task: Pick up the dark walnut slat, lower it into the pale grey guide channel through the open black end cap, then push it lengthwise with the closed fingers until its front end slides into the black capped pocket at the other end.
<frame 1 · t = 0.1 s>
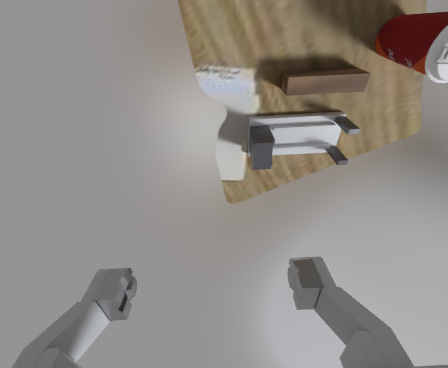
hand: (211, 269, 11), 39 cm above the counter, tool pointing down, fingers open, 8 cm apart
coffee cup: (392, 36, 38), on the counter
slat: (316, 77, 42), on the counter
endcap frame: (292, 133, 49), on the counter
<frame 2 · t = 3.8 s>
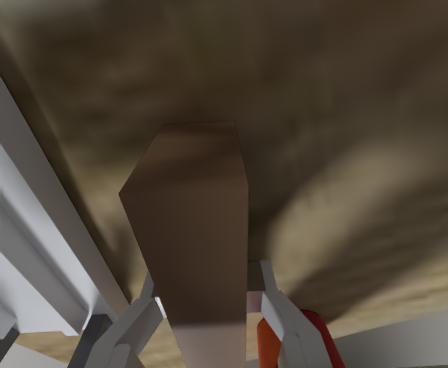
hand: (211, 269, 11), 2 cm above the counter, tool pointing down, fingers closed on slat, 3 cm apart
coffee cup: (289, 324, 20), on the counter
slat: (211, 237, 13), on the counter, touching gripper
when the fingers open (5 cm above the counter, at t = 9.8 s): slat stays where it is, resting on endcap frame.
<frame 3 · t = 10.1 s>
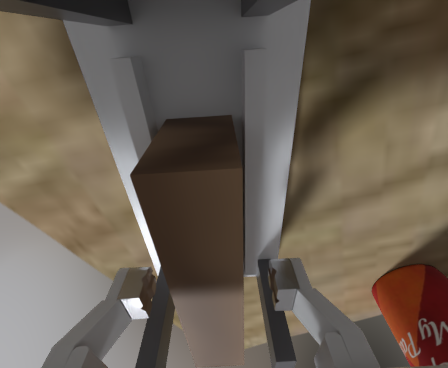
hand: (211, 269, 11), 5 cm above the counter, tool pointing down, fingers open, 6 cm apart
coffee cup: (402, 282, 21), on the counter
slat: (211, 227, 14), point 1 cm above the counter, touching endcap frame
endcap frame: (205, 152, 13), on the counter
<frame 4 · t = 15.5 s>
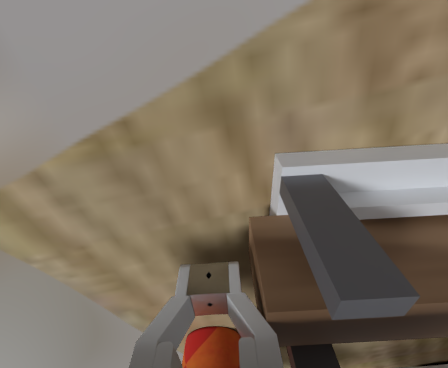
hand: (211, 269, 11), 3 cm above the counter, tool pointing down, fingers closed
coffee cup: (213, 337, 24), on the counter
slat: (368, 229, 13), point 1 cm above the counter, touching endcap frame, gripper
endcap frame: (424, 208, 14), on the counter
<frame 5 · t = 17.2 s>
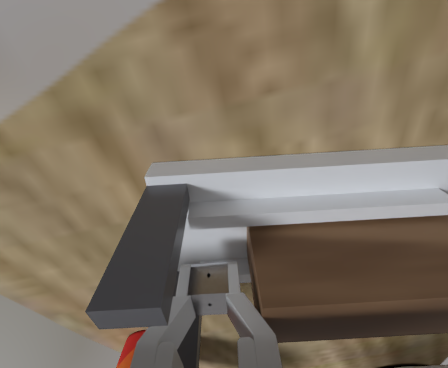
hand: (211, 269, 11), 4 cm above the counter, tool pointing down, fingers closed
coffee cup: (154, 340, 24), on the counter
slat: (365, 227, 13), point 2 cm above the counter, touching endcap frame, gripper
endcap frame: (320, 214, 14), on the counter
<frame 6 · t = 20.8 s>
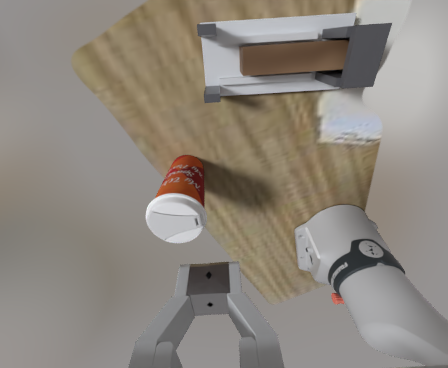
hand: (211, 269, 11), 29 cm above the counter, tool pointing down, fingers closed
coffee cup: (187, 168, 41), on the counter
slat: (289, 55, 30), point 1 cm above the counter, touching endcap frame
endcap frame: (273, 57, 31), on the counter
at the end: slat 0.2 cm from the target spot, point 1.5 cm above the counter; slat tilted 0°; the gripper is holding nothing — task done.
